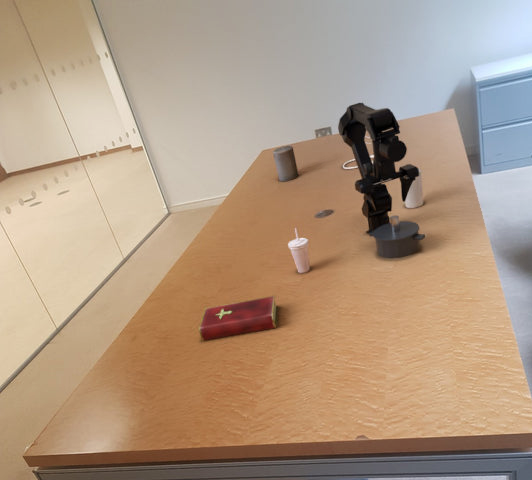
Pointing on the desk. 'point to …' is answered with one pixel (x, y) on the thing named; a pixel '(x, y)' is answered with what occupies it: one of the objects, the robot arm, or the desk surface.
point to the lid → (396, 230)
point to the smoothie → (300, 253)
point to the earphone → (354, 160)
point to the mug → (415, 193)
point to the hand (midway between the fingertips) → (390, 205)
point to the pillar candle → (285, 163)
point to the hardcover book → (238, 318)
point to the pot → (398, 246)
